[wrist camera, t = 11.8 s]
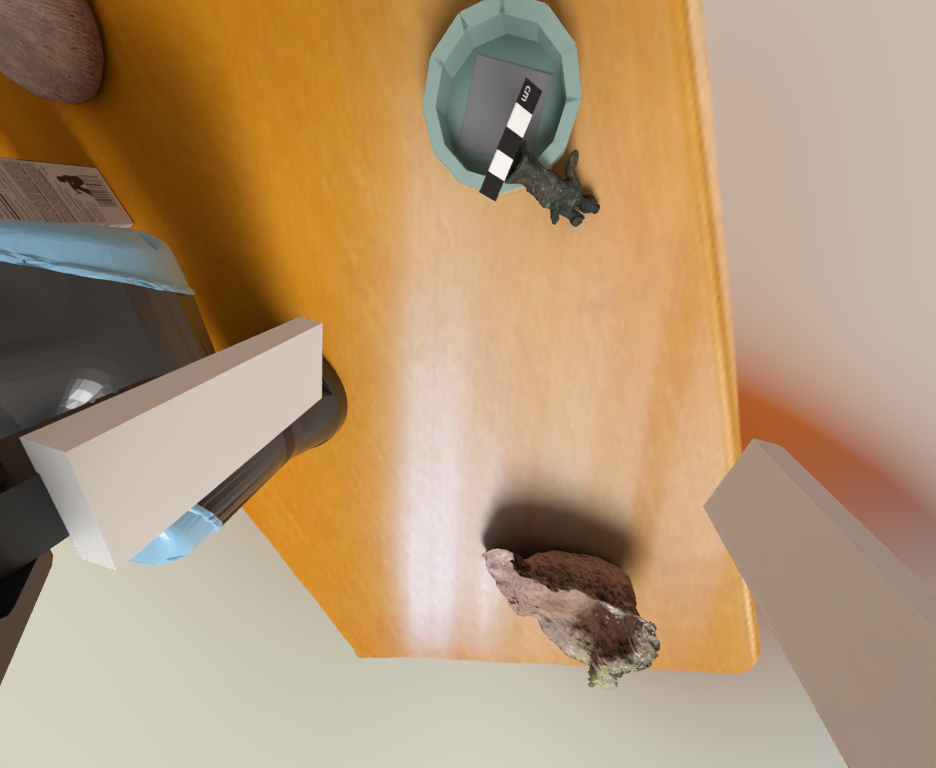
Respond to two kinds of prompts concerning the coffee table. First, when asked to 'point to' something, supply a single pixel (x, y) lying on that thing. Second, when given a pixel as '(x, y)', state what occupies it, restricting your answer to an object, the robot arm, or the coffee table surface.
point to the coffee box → (58, 194)
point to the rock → (579, 609)
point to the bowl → (500, 86)
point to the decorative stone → (51, 48)
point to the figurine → (535, 167)
